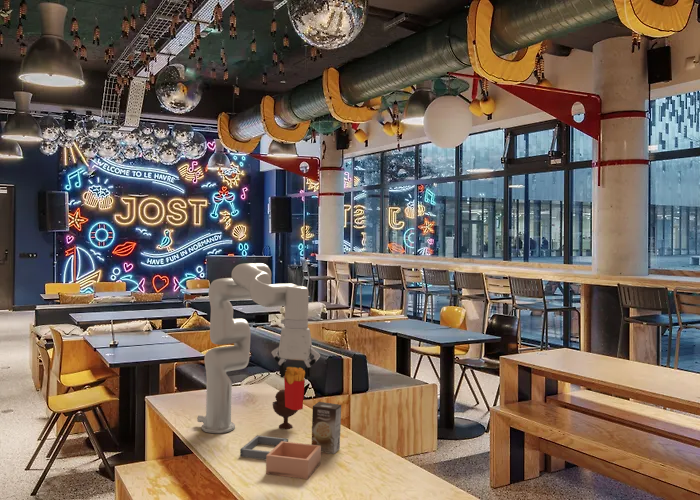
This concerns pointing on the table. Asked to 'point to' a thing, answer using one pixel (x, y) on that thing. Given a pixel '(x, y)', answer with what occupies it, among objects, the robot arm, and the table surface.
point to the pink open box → (293, 460)
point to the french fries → (294, 388)
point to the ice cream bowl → (283, 409)
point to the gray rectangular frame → (259, 454)
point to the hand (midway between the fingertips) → (295, 377)
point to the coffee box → (326, 426)
